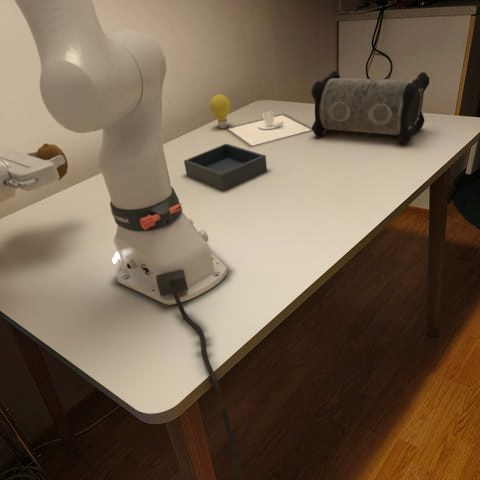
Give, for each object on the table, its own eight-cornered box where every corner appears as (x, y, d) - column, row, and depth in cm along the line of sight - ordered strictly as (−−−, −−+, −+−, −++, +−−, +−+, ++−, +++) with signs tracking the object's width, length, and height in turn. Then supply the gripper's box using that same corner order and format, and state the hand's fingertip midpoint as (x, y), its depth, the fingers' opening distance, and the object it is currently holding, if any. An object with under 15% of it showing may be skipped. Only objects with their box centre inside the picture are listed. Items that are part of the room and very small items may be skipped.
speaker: (331, 122, 143) (332, 68, 133) (424, 128, 129) (432, 70, 120) (310, 138, 134) (308, 83, 124) (407, 147, 120) (414, 86, 111)
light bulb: (211, 126, 155) (206, 94, 148) (229, 122, 156) (225, 90, 149) (216, 131, 150) (211, 99, 143) (235, 127, 151) (231, 94, 144)
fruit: (44, 178, 105) (30, 143, 100) (71, 171, 106) (58, 136, 101) (45, 187, 100) (30, 151, 95) (73, 180, 101) (60, 144, 96)
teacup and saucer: (287, 126, 145) (286, 113, 142) (264, 132, 143) (263, 119, 140) (275, 120, 151) (274, 107, 148) (253, 125, 149) (252, 112, 147)
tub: (267, 170, 120) (265, 155, 117) (223, 190, 113) (221, 174, 111) (228, 157, 130) (226, 143, 128) (186, 175, 124) (183, 160, 121)
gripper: (11, 173, 85) (73, 147, 92) (-33, 157, 97) (26, 135, 104) (25, 204, 89) (84, 177, 96) (-18, 185, 101) (37, 162, 108)
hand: (53, 155), depth 100 cm, fingers closed on fruit, 6 cm apart
